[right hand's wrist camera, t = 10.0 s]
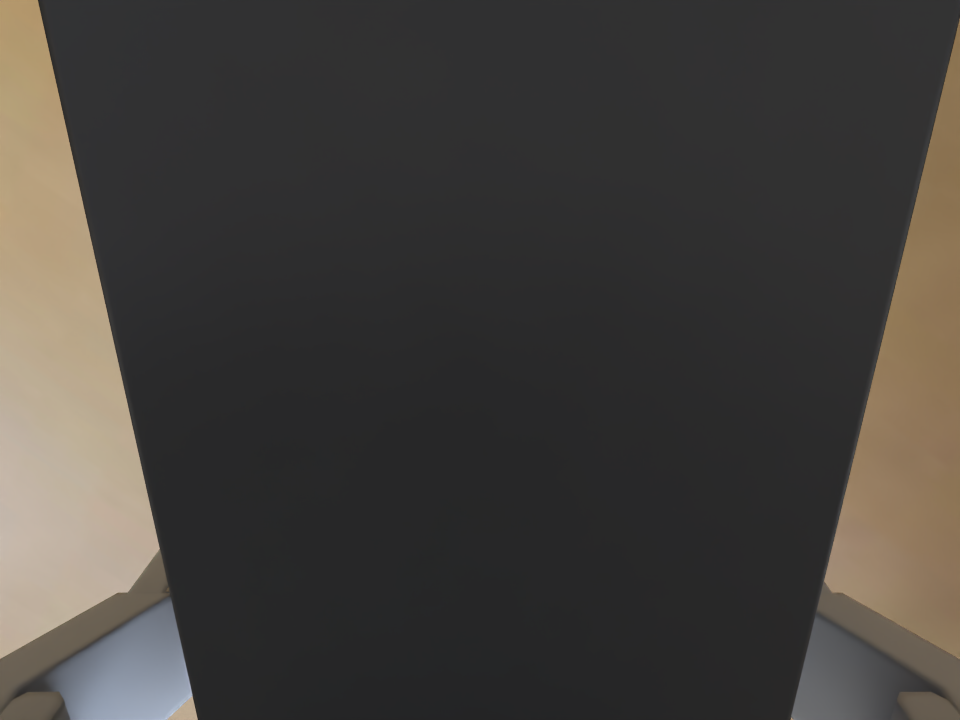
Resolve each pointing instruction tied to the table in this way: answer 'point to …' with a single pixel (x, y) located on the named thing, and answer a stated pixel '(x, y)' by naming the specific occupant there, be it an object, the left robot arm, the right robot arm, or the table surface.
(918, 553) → the table surface
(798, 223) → the bar
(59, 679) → the right robot arm
